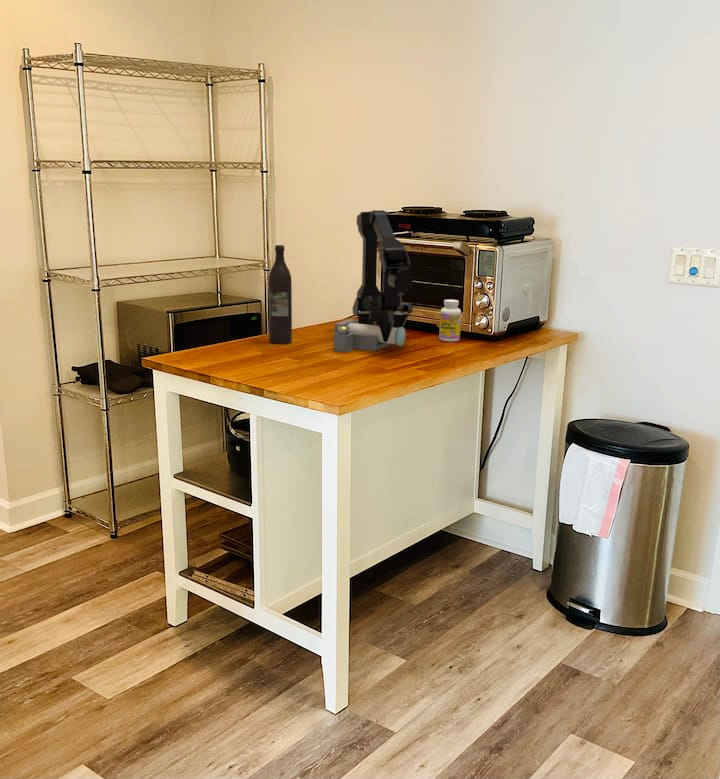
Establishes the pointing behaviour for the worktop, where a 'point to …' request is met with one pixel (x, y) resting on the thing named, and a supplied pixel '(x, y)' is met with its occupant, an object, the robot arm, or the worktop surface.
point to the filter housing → (355, 340)
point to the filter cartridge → (379, 333)
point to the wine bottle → (280, 300)
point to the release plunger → (343, 330)
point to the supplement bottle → (450, 321)
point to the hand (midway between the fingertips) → (391, 339)
